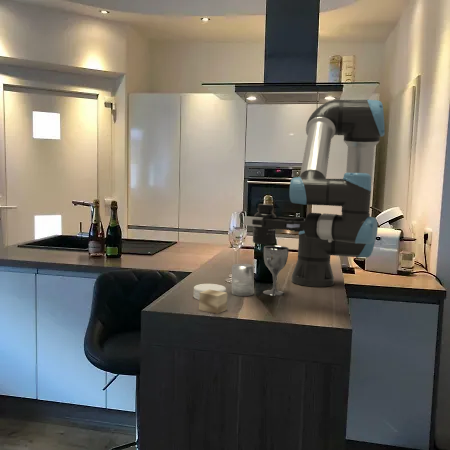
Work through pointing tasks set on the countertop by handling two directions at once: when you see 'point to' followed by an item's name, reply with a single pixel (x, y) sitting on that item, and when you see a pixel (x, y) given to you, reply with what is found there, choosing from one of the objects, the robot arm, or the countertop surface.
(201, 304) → the maple block
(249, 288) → the frosted glass cup
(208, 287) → the brie cheese wheel
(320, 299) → the countertop surface
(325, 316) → the countertop surface
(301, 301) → the countertop surface
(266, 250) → the wine glass
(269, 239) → the supplement bottle
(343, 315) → the countertop surface
